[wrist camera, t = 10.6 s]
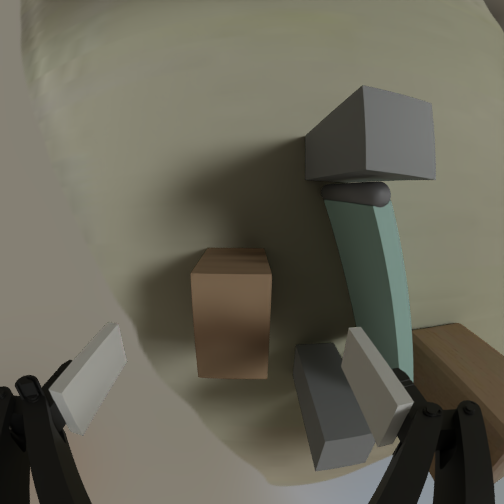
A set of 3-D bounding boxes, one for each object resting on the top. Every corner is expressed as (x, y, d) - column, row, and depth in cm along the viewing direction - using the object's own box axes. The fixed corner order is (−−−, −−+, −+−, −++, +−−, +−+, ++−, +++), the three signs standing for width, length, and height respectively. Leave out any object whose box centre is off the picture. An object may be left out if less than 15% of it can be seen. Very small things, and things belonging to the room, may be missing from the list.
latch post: (295, 344, 27) (325, 441, 14) (333, 342, 27) (380, 431, 14) (292, 375, 28) (315, 471, 15) (328, 372, 28) (365, 462, 15)
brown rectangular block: (207, 247, 25) (190, 273, 17) (264, 248, 25) (272, 274, 17) (210, 328, 26) (198, 377, 19) (261, 329, 27) (267, 378, 19)
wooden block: (380, 395, 29) (447, 514, 10) (400, 328, 27) (511, 447, 8) (438, 381, 29) (511, 471, 10) (459, 319, 27) (563, 400, 8)
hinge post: (305, 135, 23) (362, 85, 10) (347, 139, 23) (431, 103, 10) (305, 179, 24) (366, 169, 11) (347, 182, 24) (435, 179, 11)
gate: (318, 186, 23) (365, 185, 13) (332, 182, 23) (386, 178, 13) (356, 334, 26) (398, 393, 17) (368, 328, 26) (414, 385, 17)
